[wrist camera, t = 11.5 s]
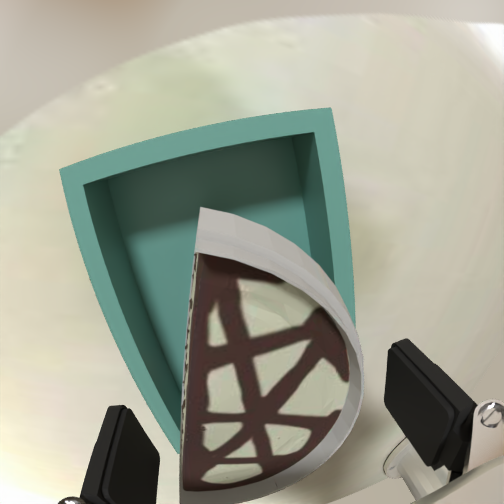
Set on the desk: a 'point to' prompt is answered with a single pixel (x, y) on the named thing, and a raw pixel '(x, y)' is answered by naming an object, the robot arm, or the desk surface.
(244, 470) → the food container
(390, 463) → the robot arm
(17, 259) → the desk surface
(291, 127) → the bin
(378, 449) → the desk surface
